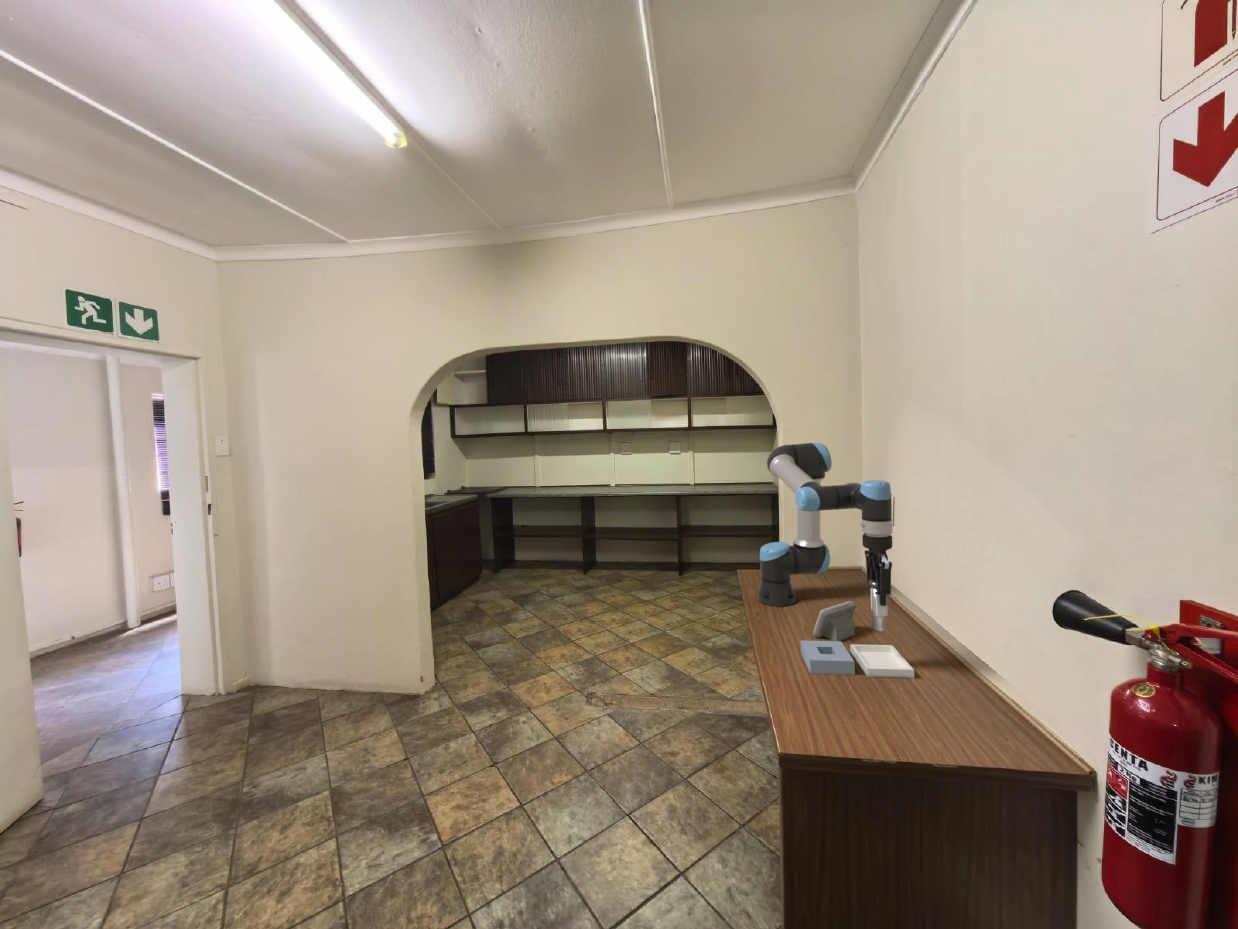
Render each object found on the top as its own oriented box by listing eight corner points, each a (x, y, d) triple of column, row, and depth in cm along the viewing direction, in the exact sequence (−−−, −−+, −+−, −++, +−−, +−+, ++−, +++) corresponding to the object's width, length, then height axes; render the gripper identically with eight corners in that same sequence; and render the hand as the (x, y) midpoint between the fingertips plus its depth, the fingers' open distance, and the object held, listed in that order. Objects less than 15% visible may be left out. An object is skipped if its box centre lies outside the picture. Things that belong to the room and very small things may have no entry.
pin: (881, 624, 131) (879, 578, 130) (891, 631, 127) (889, 583, 126) (867, 626, 131) (865, 579, 130) (876, 632, 127) (875, 584, 126)
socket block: (800, 652, 140) (800, 640, 139) (841, 653, 137) (840, 641, 137) (810, 673, 128) (809, 660, 127) (854, 674, 126) (854, 661, 125)
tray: (850, 652, 138) (850, 644, 138) (892, 653, 136) (892, 645, 135) (867, 677, 124) (867, 668, 124) (914, 678, 122) (914, 669, 122)
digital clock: (846, 625, 156) (845, 596, 155) (866, 636, 147) (865, 605, 146) (806, 633, 152) (805, 603, 152) (824, 645, 143) (823, 613, 143)
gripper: (853, 528, 136) (855, 601, 137) (873, 541, 120) (876, 624, 121) (879, 527, 134) (881, 602, 136) (904, 540, 118) (906, 624, 120)
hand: (879, 612), depth 129 cm, fingers closed on pin, 3 cm apart
